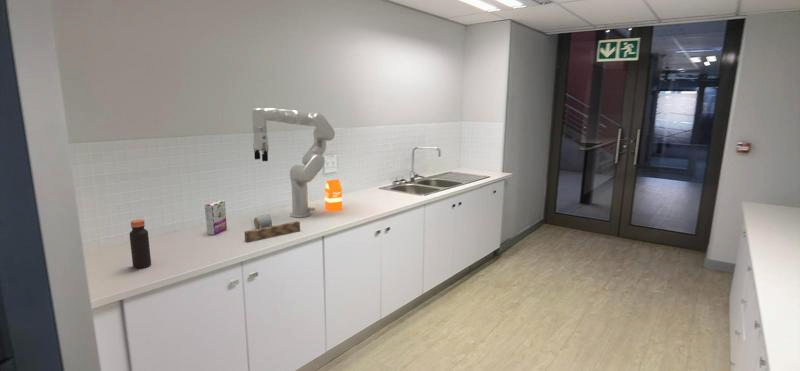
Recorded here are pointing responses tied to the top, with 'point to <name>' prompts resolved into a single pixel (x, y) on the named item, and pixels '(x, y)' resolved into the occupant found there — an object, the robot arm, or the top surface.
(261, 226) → the ceramic mug
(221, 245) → the top surface
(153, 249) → the top surface
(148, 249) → the bottle
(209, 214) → the candy bar box
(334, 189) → the orange juice
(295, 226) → the walnut board
